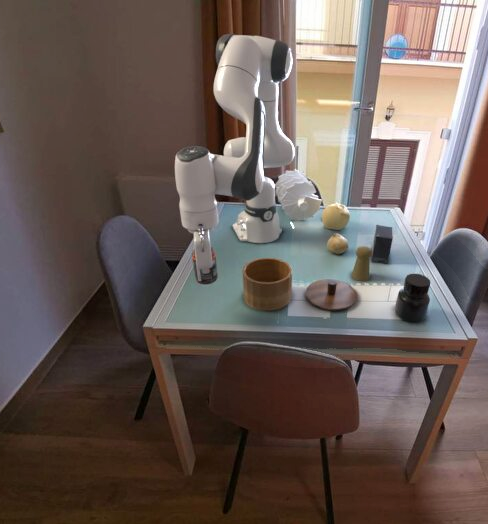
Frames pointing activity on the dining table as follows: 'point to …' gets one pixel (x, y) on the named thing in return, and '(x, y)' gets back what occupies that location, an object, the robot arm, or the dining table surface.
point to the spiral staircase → (297, 195)
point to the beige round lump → (335, 216)
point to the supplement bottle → (207, 277)
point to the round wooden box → (267, 283)
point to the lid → (331, 294)
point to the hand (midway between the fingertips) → (205, 264)
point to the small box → (382, 244)
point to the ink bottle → (413, 298)
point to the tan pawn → (362, 264)
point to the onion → (337, 244)
